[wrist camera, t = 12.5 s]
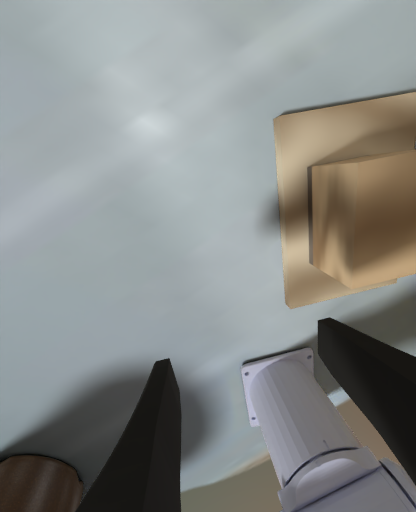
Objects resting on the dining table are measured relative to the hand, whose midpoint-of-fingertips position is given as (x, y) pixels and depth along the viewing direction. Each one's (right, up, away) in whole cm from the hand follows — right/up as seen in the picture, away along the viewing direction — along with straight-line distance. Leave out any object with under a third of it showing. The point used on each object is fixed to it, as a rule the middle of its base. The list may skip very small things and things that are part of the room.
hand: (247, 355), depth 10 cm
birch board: (+10, +9, +9) cm, 16 cm away
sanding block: (+9, +8, +8) cm, 15 cm away
